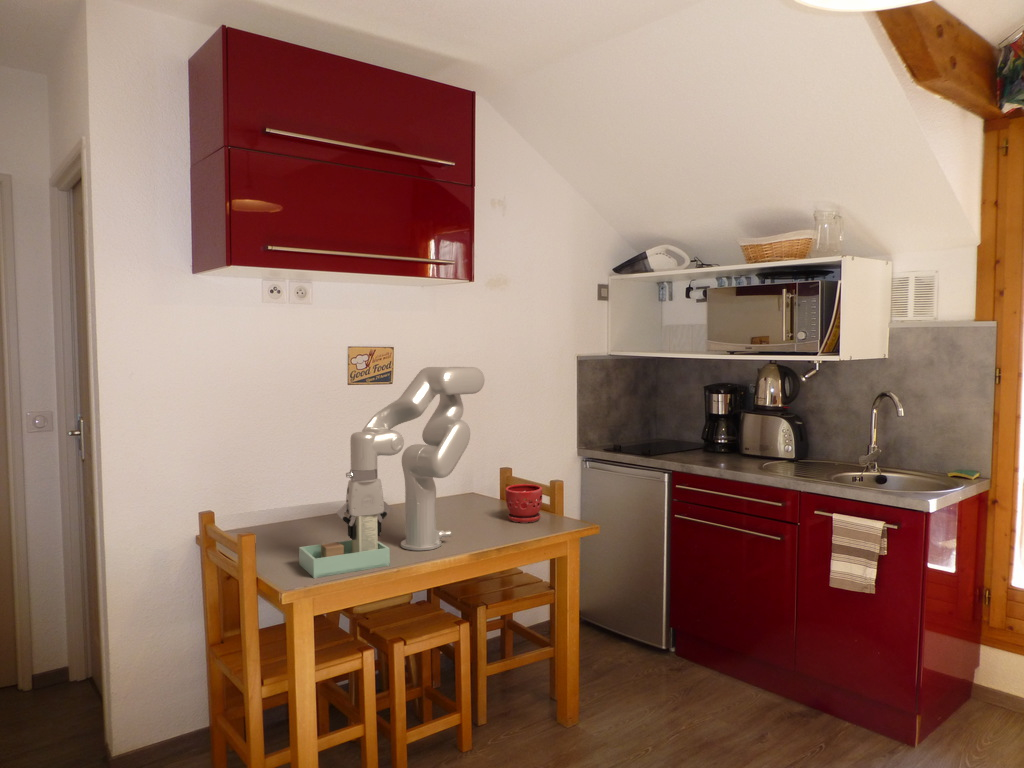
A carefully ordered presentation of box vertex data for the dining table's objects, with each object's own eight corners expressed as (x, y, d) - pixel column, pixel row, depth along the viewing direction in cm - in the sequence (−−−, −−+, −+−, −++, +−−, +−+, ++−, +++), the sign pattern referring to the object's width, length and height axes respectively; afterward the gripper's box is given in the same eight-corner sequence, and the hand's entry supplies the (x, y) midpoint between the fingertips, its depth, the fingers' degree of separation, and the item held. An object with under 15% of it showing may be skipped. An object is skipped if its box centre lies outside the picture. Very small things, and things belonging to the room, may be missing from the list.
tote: (371, 553, 223) (371, 536, 223) (389, 565, 210) (389, 548, 210) (299, 564, 212) (299, 547, 212) (313, 578, 199) (313, 559, 199)
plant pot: (505, 516, 271) (505, 483, 271) (541, 516, 271) (541, 483, 271) (505, 524, 258) (505, 490, 258) (543, 524, 258) (543, 490, 258)
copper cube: (343, 563, 210) (343, 545, 210) (326, 566, 208) (326, 548, 207) (338, 559, 214) (338, 541, 214) (321, 561, 212) (320, 544, 212)
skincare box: (370, 549, 217) (370, 508, 217) (378, 552, 214) (378, 510, 213) (351, 553, 213) (350, 511, 213) (359, 556, 210) (358, 513, 209)
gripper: (338, 479, 205) (339, 544, 206) (397, 474, 214) (398, 535, 215) (330, 475, 211) (331, 538, 212) (388, 470, 220) (388, 530, 221)
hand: (364, 536), depth 213 cm, fingers closed on skincare box, 6 cm apart
